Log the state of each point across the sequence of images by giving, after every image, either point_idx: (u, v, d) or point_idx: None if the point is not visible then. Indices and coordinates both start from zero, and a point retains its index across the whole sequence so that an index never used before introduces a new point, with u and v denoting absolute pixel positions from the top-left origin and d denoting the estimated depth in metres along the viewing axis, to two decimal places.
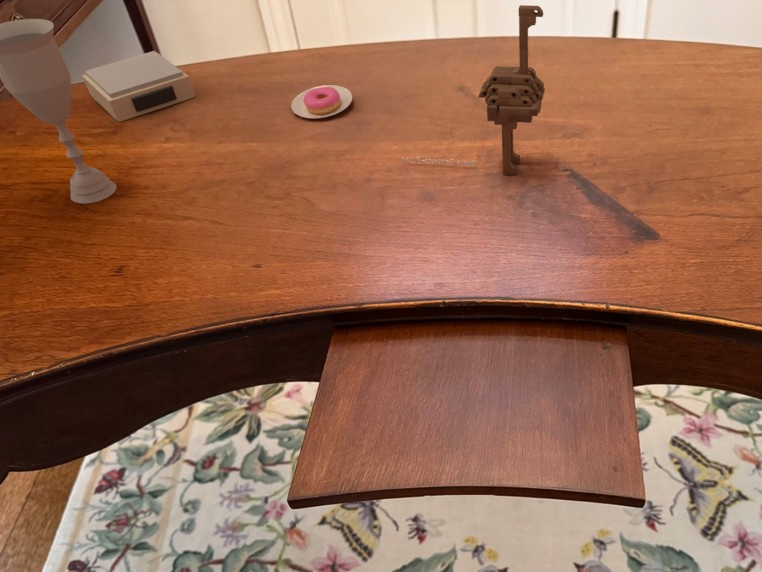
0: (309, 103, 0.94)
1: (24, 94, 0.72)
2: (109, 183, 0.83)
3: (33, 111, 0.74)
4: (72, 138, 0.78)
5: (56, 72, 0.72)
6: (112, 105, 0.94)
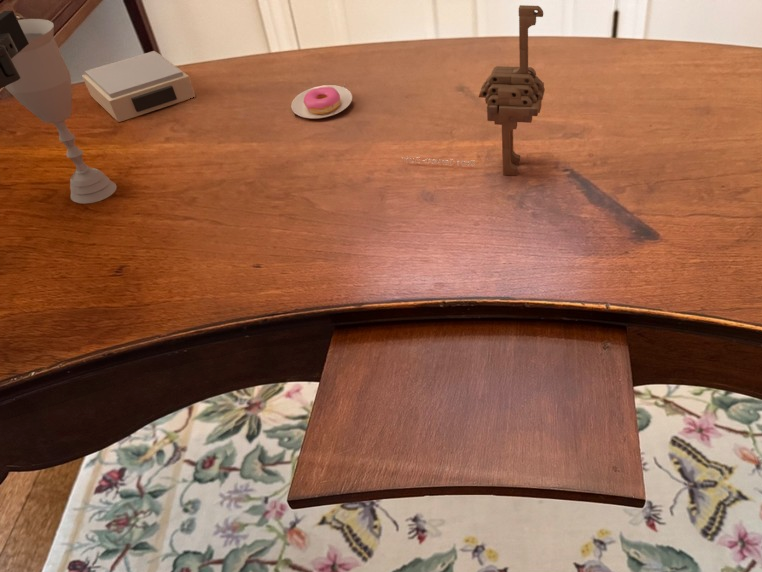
0: (309, 103, 0.94)
1: (24, 94, 0.72)
2: (109, 183, 0.83)
3: (33, 111, 0.74)
4: (72, 138, 0.78)
5: (56, 72, 0.72)
6: (112, 105, 0.94)
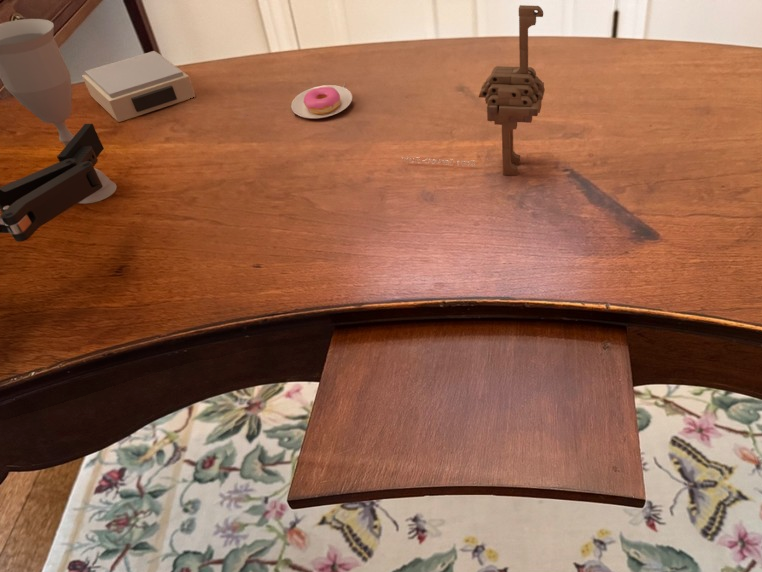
0: (309, 103, 0.94)
1: (24, 94, 0.72)
2: (109, 183, 0.83)
3: (33, 111, 0.74)
4: None
5: (56, 72, 0.72)
6: (112, 105, 0.94)
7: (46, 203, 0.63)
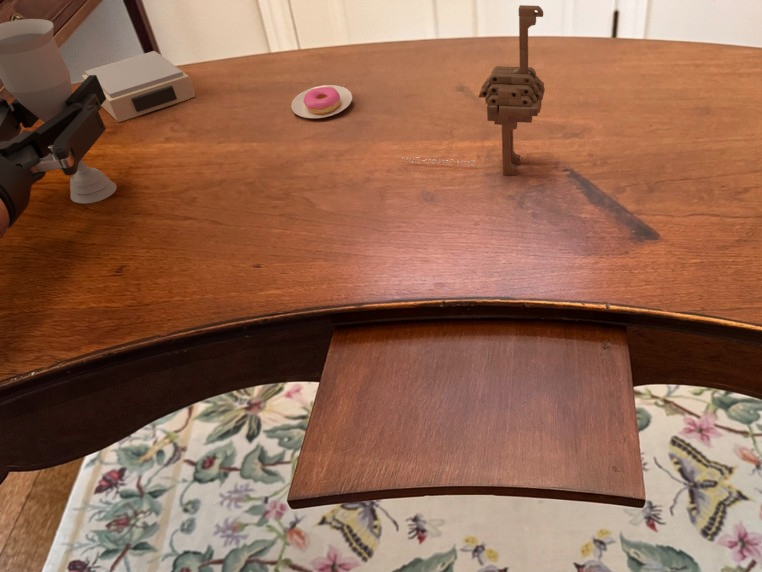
0: (309, 103, 0.94)
1: (24, 94, 0.72)
2: (109, 183, 0.83)
3: (33, 111, 0.74)
4: None
5: (55, 72, 0.72)
6: (112, 105, 0.94)
7: (78, 141, 0.71)
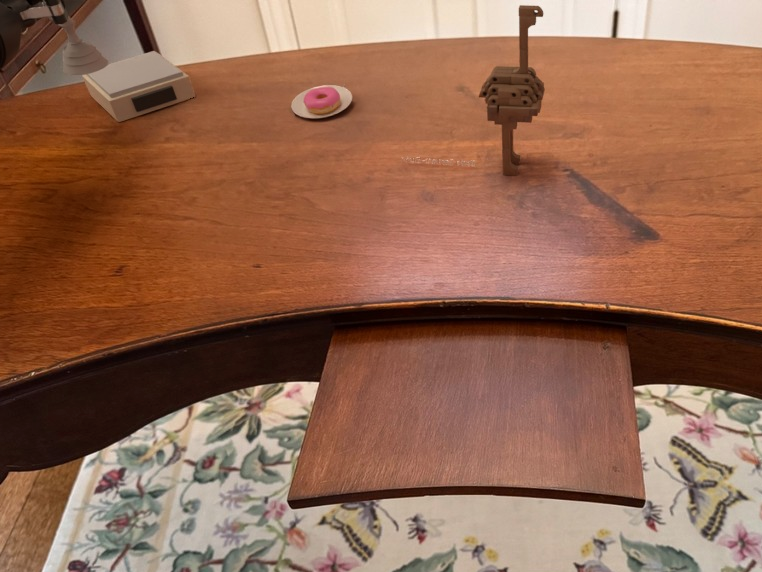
0: (309, 103, 0.94)
1: None
2: (101, 57, 0.84)
3: None
4: None
5: None
6: (112, 105, 0.94)
7: None
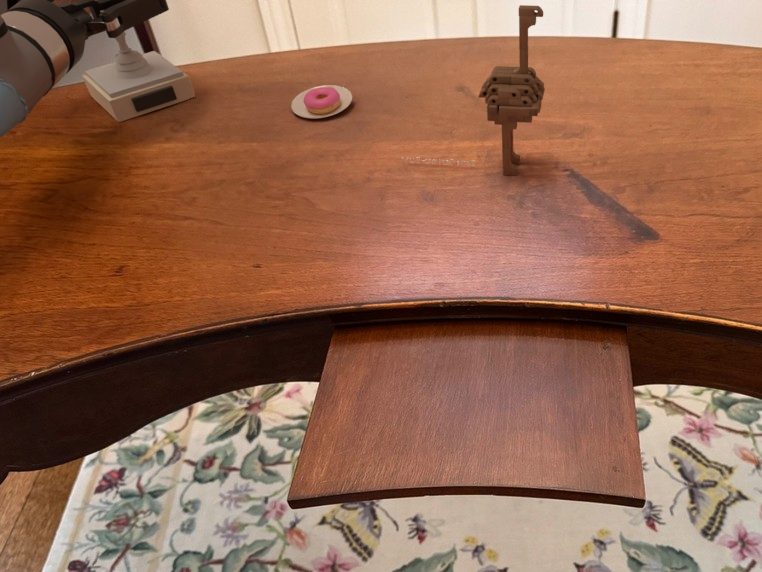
0: (309, 103, 0.94)
1: None
2: (146, 63, 0.98)
3: None
4: None
5: None
6: (112, 105, 0.94)
7: (130, 12, 0.83)
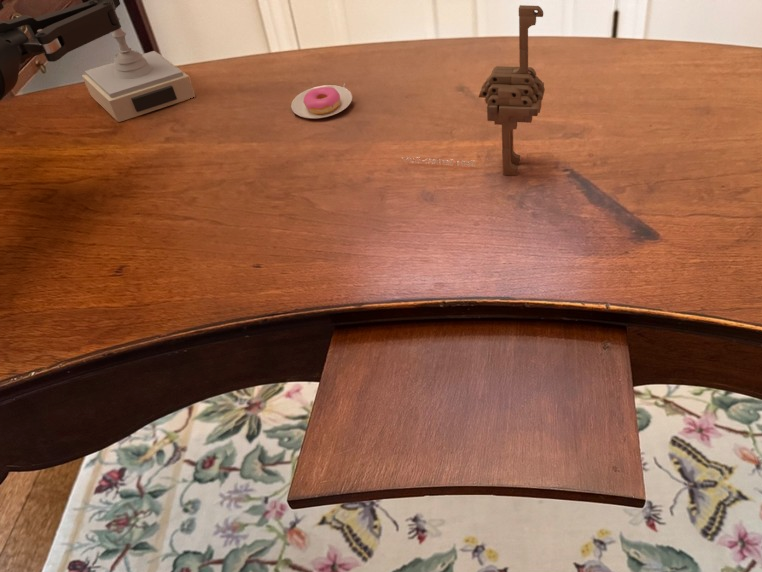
0: (309, 103, 0.94)
1: None
2: (146, 63, 0.98)
3: None
4: None
5: None
6: (112, 105, 0.94)
7: (74, 31, 0.72)
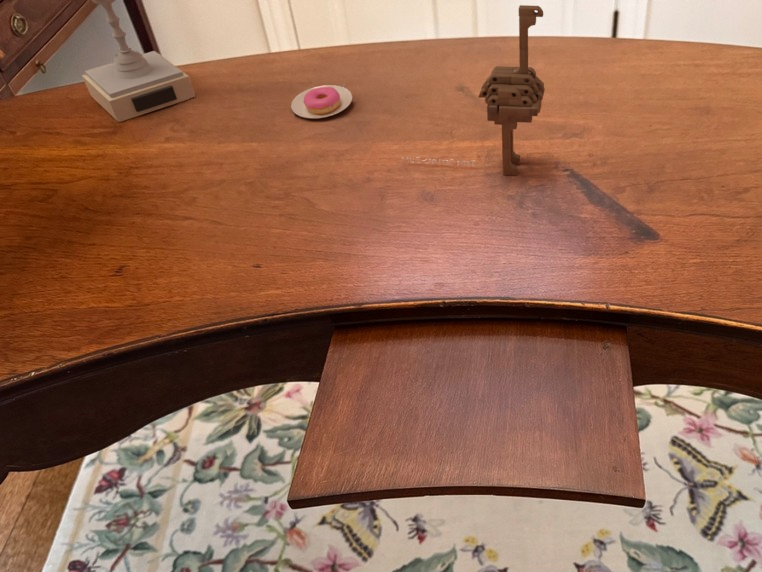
0: (309, 103, 0.94)
1: None
2: (146, 63, 0.98)
3: None
4: (117, 19, 0.93)
5: None
6: (112, 105, 0.94)
7: None
